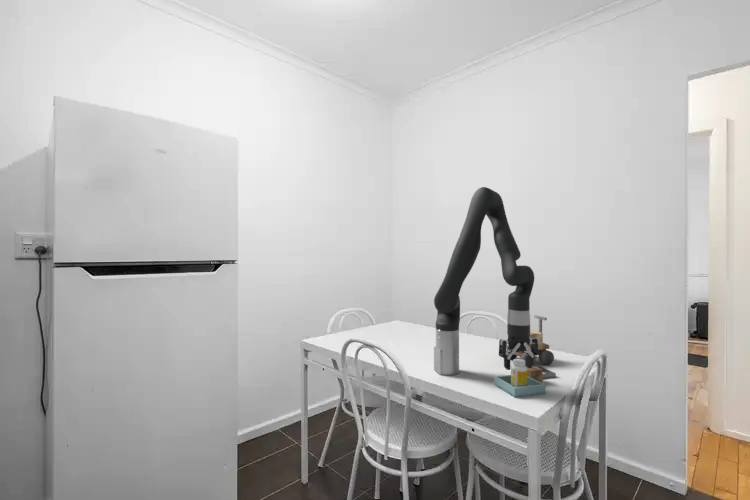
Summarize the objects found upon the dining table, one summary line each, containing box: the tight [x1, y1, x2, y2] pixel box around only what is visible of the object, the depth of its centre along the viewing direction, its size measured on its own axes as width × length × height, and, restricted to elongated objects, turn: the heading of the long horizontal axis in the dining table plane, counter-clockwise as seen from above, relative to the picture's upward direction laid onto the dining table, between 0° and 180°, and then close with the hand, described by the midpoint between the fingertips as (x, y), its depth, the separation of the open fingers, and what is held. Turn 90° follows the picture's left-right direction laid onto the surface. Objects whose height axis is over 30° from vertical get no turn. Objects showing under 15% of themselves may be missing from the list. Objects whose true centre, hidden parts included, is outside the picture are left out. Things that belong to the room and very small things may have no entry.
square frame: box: [537, 366, 557, 379], centre depth 147 cm, size 8×8×2 cm
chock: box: [527, 365, 544, 384], centre depth 139 cm, size 5×4×5 cm
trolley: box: [506, 314, 555, 366], centre depth 164 cm, size 15×14×19 cm
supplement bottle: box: [510, 358, 527, 387], centre depth 132 cm, size 5×5×10 cm
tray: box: [494, 374, 547, 398], centre depth 132 cm, size 12×12×3 cm
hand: (518, 368), depth 132 cm, fingers open, 8 cm apart
